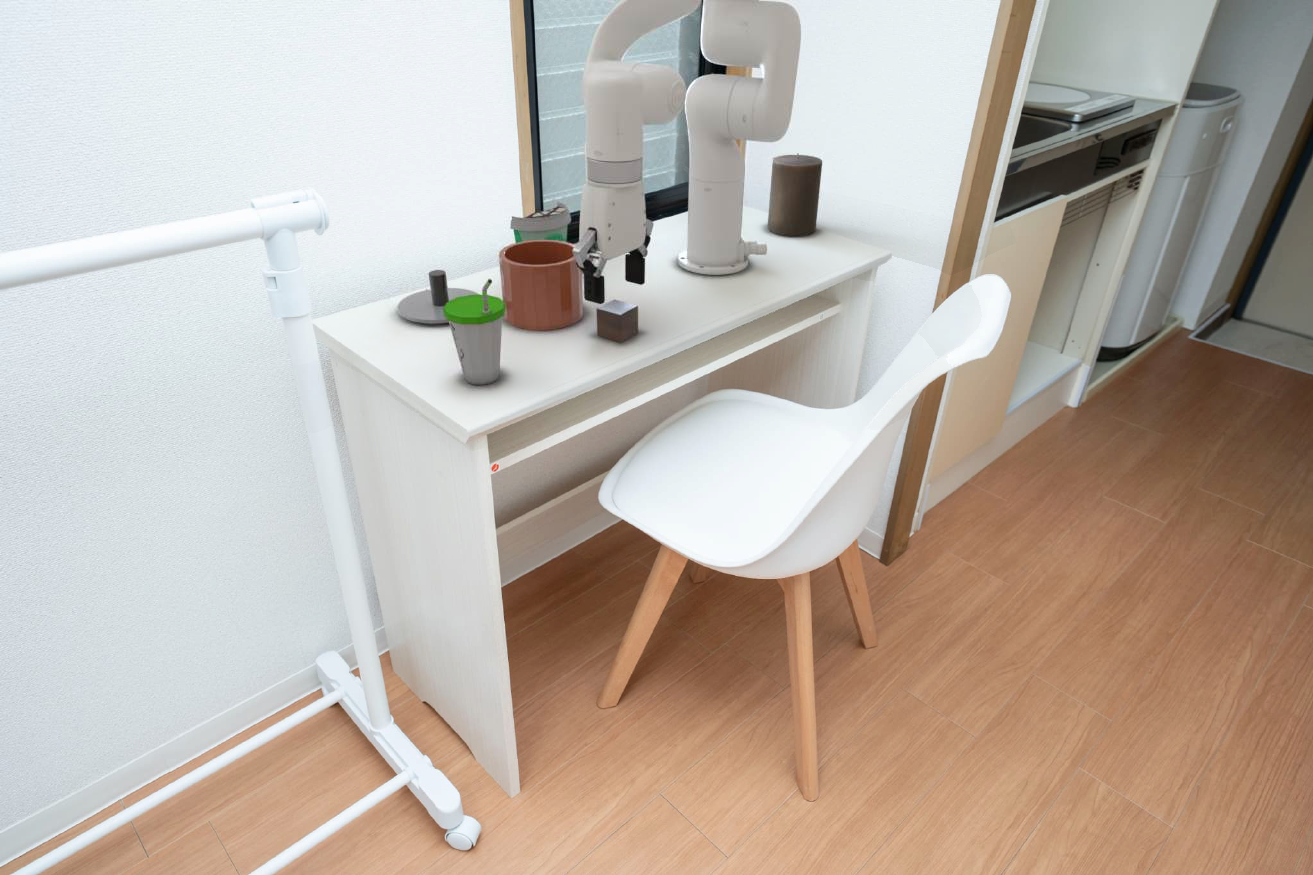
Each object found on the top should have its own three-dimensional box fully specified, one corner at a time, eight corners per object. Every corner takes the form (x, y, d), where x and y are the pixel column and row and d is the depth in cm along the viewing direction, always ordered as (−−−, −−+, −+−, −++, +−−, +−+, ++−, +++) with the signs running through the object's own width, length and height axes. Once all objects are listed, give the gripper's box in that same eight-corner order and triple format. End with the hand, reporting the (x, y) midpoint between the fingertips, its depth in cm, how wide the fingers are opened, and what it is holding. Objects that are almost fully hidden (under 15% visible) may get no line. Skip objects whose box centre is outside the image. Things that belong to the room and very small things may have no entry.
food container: (539, 281, 144) (535, 223, 139) (513, 273, 148) (509, 216, 142) (587, 262, 153) (585, 207, 148) (562, 255, 156) (559, 201, 151)
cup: (451, 367, 116) (438, 262, 108) (509, 362, 118) (499, 258, 110) (453, 393, 110) (438, 284, 102) (514, 388, 111) (504, 279, 103)
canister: (582, 298, 138) (579, 238, 133) (584, 329, 128) (581, 265, 122) (506, 300, 137) (501, 240, 132) (502, 331, 126) (496, 267, 121)
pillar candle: (813, 238, 166) (822, 160, 158) (763, 234, 168) (769, 156, 160) (817, 224, 174) (825, 148, 166) (769, 220, 176) (775, 145, 168)
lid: (487, 293, 139) (483, 257, 136) (481, 325, 128) (477, 287, 125) (405, 295, 138) (399, 259, 135) (392, 328, 127) (385, 289, 124)
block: (614, 326, 129) (614, 299, 126) (638, 333, 126) (638, 305, 124) (597, 336, 125) (596, 308, 123) (620, 343, 123) (620, 315, 121)
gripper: (629, 156, 121) (629, 271, 130) (551, 178, 109) (556, 303, 118) (673, 163, 118) (670, 281, 126) (597, 187, 105) (599, 315, 114)
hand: (615, 291), depth 122 cm, fingers open, 9 cm apart
